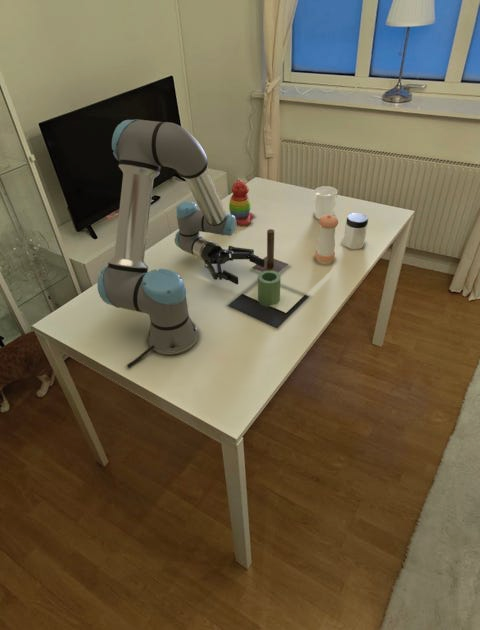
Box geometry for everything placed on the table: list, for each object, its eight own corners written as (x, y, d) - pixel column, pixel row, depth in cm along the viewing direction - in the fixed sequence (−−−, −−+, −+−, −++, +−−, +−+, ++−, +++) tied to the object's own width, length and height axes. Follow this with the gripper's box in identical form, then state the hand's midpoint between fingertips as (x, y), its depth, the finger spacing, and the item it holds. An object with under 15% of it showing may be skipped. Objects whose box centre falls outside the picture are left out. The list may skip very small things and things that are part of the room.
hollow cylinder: (271, 309, 146) (272, 285, 139) (254, 302, 149) (253, 278, 143) (283, 298, 150) (284, 275, 144) (266, 291, 154) (266, 268, 147)
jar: (361, 251, 172) (366, 224, 165) (341, 247, 175) (344, 220, 167) (365, 240, 179) (370, 214, 171) (346, 237, 181) (349, 210, 174)
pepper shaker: (325, 267, 165) (330, 221, 152) (311, 259, 169) (314, 214, 157) (337, 260, 168) (343, 215, 156) (323, 252, 173) (328, 208, 160)
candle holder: (309, 212, 199) (311, 188, 191) (328, 209, 201) (331, 184, 193) (318, 222, 192) (320, 197, 184) (338, 218, 194) (341, 193, 186)
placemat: (276, 328, 139) (276, 327, 139) (228, 305, 149) (228, 304, 149) (308, 296, 151) (308, 296, 151) (261, 278, 161) (261, 277, 160)
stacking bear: (249, 226, 191) (249, 188, 180) (227, 224, 193) (225, 186, 181) (254, 215, 199) (253, 177, 188) (232, 213, 201) (230, 176, 190)
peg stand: (273, 279, 160) (274, 240, 150) (251, 270, 165) (251, 232, 154) (288, 266, 166) (290, 229, 155) (266, 258, 171) (267, 221, 160)
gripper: (231, 246, 169) (273, 265, 158) (184, 274, 156) (226, 297, 144) (230, 229, 164) (274, 248, 153) (181, 256, 151) (225, 279, 139)
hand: (251, 272), depth 149 cm, fingers open, 13 cm apart
